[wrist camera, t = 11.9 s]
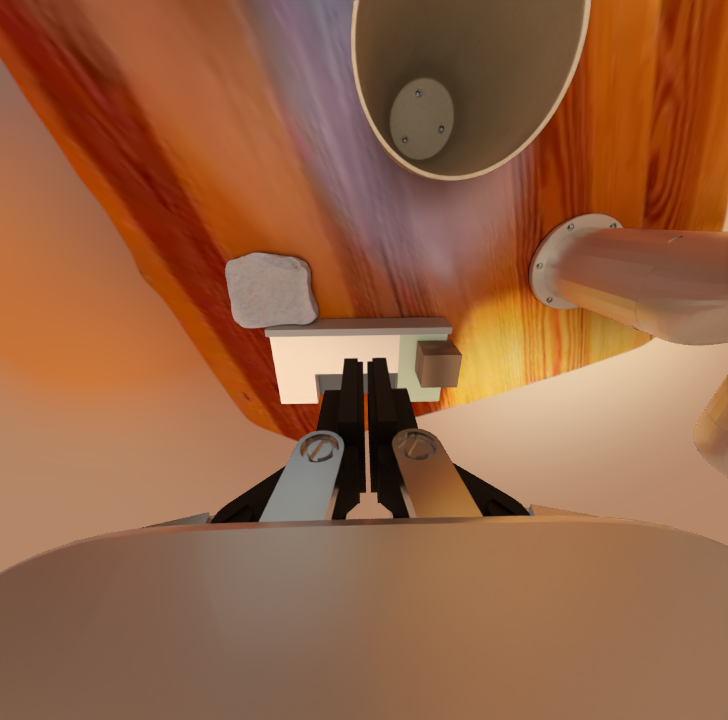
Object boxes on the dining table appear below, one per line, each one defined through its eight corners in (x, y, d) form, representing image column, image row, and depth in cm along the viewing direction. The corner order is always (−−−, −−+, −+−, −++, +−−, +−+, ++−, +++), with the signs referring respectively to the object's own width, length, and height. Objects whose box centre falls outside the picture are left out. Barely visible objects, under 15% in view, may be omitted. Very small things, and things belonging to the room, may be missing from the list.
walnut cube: (451, 340, 41) (462, 355, 37) (446, 369, 43) (456, 387, 39) (417, 340, 41) (424, 355, 36) (414, 370, 43) (421, 387, 39)
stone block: (230, 258, 40) (244, 326, 43) (214, 254, 36) (231, 331, 38) (312, 251, 40) (321, 320, 43) (307, 247, 36) (317, 324, 38)
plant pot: (501, 32, 29) (639, -150, 14) (470, 198, 35) (544, 185, 21) (356, 22, 28) (353, -176, 14) (353, 192, 35) (348, 175, 21)
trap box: (443, 317, 42) (452, 327, 38) (434, 391, 49) (441, 406, 45) (273, 319, 42) (264, 330, 38) (285, 393, 48) (279, 409, 44)
